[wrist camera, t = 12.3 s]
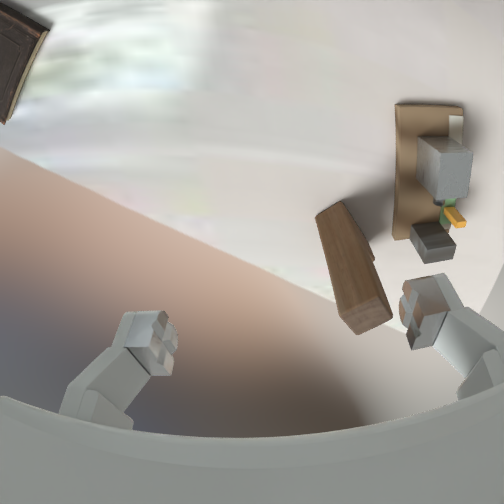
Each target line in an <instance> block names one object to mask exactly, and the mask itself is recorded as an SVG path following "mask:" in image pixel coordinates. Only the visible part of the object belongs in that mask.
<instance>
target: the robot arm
mask: <svg viewBox="0 0 504 504" xmlns="http://www.w3.org/2000/svg"><path fill="white" fill-rule="evenodd" d="M402 290H403V292H404V295H403V296H402V297H401V298H400V301H399V315H400V319H401V322H402V325H404V326H405V327H406V328H408V330H407V333H406V336H407V339H408V342H409V345H410V348H411V350H416V349H420V348H425V347H429V346H433V348H435V350H436V351H438V352H439V353H440V354H441V355H442V356H443V357H444V358H445V359H446V360H447V361H448V362H449V363H450V364H451V365H452V366H453V367H454V368H455V369H456V370H457V371H458V372H459V373H460V374H461V375H462V376H463V377H464V378H465V380H464V381H463V383H462V384H461V385H460V387H459V388H458V389H457V391H456V393H457V397H458V400H459V401H456V402H453V403H450V404H448V405H444V406H442V407H438V408H435V409H432V410H429V411H425V412H422V413H418V414H415V415H411V416H407V417H403V418H400V419H395V420H391V421H387V422H383V423H377V424H373V425H368V426H362V427H357V428H351V429H345V430H339V431H332V432H324V433H316V434H307V435H298V436H297V435H296V436H283V437H267V438H266V437H264V438H209V437H189V436H177V435H166V434H157V433H149V432H142V431H135V430H132V427H133V420H132V419H131V418H130V417H129V416H127V415H126V414H124V413H123V412H124V411H125V409H126V408H127V407H128V406H129V404H130V403H131V401H132V400H133V399H134V398H135V396H136V395H137V394H138V393H139V391H140V390H141V389H142V387H143V386H144V385H145V384H146V382H147V381H148V380H149V378H150V377H151V375H153V376H167V375H168V376H169V375H171V373H172V368H173V364H174V359H173V357H172V354H173V353H174V352H175V351H176V350H177V345H178V335H177V331H176V329H175V327H174V325H172V324H171V323H169V322H168V318H169V317H168V315H167V314H166V312H165V311H138V312H126V313H125V314H124V315H123V318H122V320H121V323H120V325H119V328H118V330H117V333H116V336H115V339H114V341H113V344H112V346H111V347H108V348H107V349H106V350H105V351H104V352H103V353H101V354H100V355H99V356H98V357H97V358H96V359H95V360H94V361H93V362H92V363H91V364H90V365H89V366H88V367H87V368H86V369H85V370H84V371H83V372H82V373H81V374H79V375H78V377H76V378H75V379H74V380H73V381H72V382H71V383H70V384H69V385H68V388H67V390H66V393H65V396H64V399H63V402H62V405H61V408H60V411H59V414H56V413H53V412H50V411H46V410H43V409H40V408H37V407H34V406H31V405H28V404H25V403H22V402H19V401H17V400H14V399H12V398H9V397H6V396H0V504H504V331H502V330H501V329H500V328H498V327H497V326H495V325H494V324H493V323H491V322H490V321H488V320H487V319H485V318H484V317H482V316H481V315H479V314H478V313H476V312H475V311H473V310H472V309H470V308H469V307H464V306H463V304H462V302H461V300H460V298H459V297H458V295H457V293H456V291H455V289H454V288H453V286H452V284H451V282H450V281H449V279H448V277H447V276H446V275H445V274H444V273H442V274H437V275H432V276H426V277H421V278H416V279H411V280H405V282H404V283H403V287H402Z"/></svg>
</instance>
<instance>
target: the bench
mask: <svg viewBox="0 0 504 504" xmlns="http://www.w3.org/2000/svg"><path fill="white" fill-rule="evenodd" d="M395 121H396V177H395V199H394V214H393V227H392V236H393V238H394V240H395V241H396V240H403V239H410V240H411V242H412V244H413V245H414V247H415V249H416V250H417V252H418V254H419V256H420V257H421V259H422V261H423V263H424V264H428V263H434V262H439V261H445V260H450V259H453V256H454V253H455V249H456V244H455V242H454V241H453V240H452V238H451V237H450V236H449V234H448V233H449V229H450V227H451V222H450V221H449V219H448V218H447V217H446V216H445V215H444V207H455V202H456V198H454V199H446V200H445V205H444V206H436V205H434V204H433V196H432V195H431V194H430V193H429V192H428V191H427V190H426V189H425V188H424V186H423V185H422V184H421V183H420V182H419V181H418V180H417V179H416V170H417V145H418V136H449V137H450V138H452V139H454V140H455V141H457V142H458V143H460V144H461V145H462V137H463V109H462V108H460V107H458V106H446V105H416V104H395Z"/></svg>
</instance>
